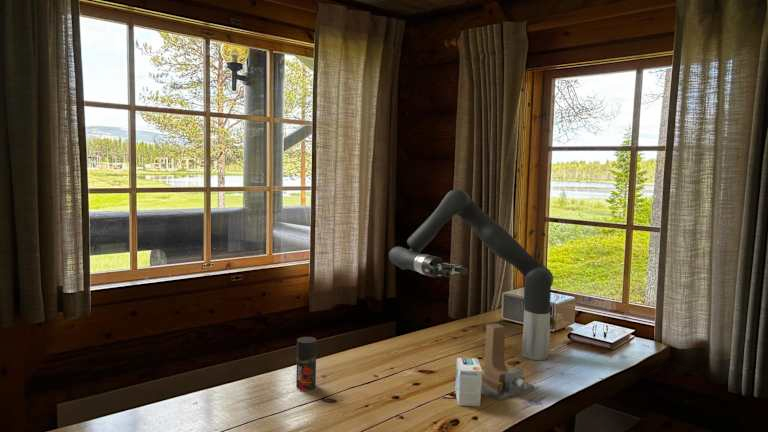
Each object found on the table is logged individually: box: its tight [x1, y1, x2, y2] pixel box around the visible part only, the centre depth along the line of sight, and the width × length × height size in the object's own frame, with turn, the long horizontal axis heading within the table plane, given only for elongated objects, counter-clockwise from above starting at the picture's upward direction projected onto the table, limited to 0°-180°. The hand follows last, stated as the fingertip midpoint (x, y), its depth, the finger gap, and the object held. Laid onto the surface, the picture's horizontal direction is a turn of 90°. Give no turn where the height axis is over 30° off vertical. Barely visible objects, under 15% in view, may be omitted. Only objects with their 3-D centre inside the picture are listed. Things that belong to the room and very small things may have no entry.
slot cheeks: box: [481, 369, 525, 393], centre depth 176 cm, size 12×11×2 cm
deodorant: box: [295, 336, 318, 392], centre depth 170 cm, size 6×6×15 cm
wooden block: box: [483, 323, 509, 388], centre depth 176 cm, size 9×4×18 cm, turn 22°
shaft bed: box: [481, 368, 535, 401], centre depth 175 cm, size 16×16×7 cm
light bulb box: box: [454, 357, 483, 407], centre depth 166 cm, size 11×7×11 cm, turn 178°
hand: (458, 273), depth 193 cm, fingers open, 8 cm apart
